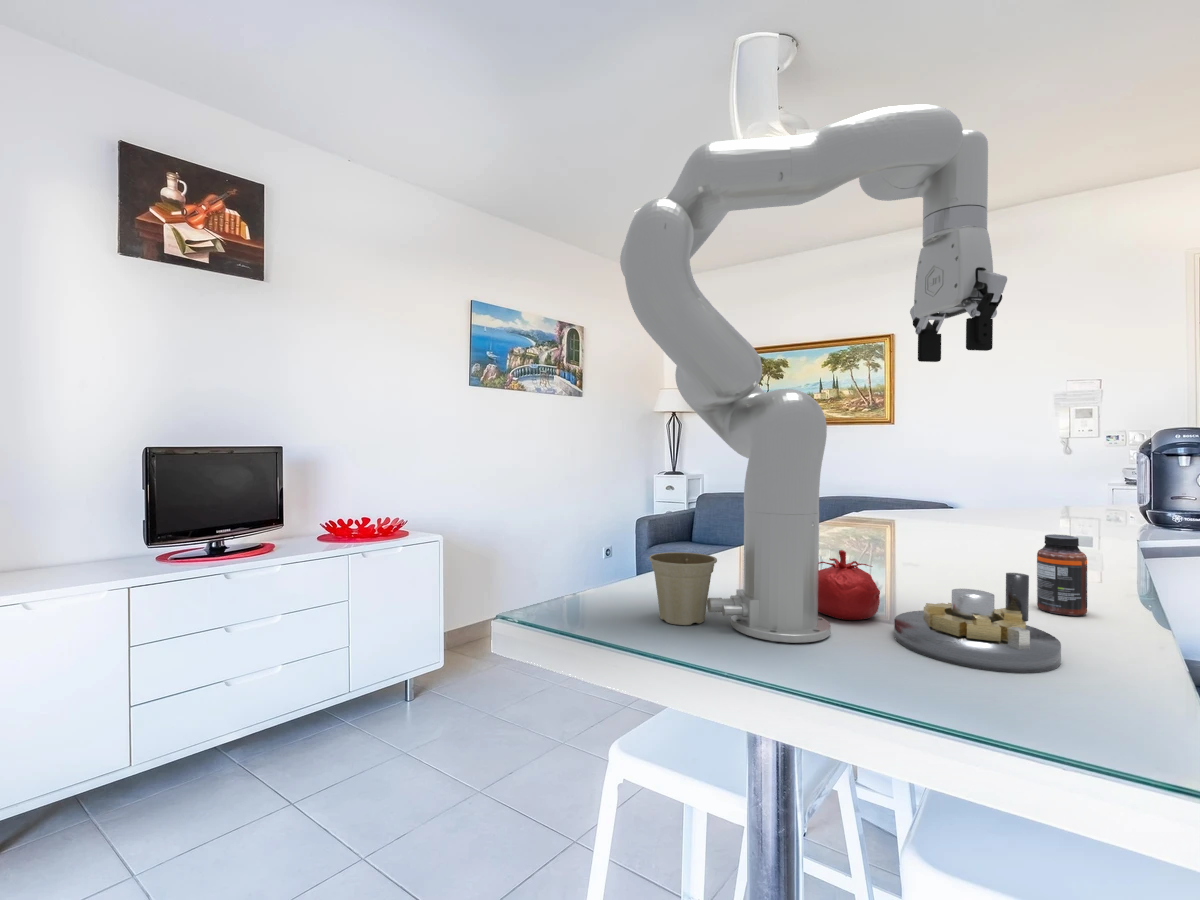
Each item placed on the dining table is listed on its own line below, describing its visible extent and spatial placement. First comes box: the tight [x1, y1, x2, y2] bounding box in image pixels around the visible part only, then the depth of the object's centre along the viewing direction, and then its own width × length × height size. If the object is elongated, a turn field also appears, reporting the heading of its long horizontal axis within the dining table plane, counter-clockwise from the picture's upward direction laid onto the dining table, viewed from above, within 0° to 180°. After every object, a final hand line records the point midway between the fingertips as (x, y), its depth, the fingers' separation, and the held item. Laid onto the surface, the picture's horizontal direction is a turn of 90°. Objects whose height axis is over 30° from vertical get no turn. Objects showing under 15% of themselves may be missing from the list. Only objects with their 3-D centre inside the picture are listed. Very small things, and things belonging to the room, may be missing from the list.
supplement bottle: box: [1036, 533, 1088, 617], centre depth 87 cm, size 6×6×11 cm
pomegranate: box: [818, 549, 881, 621], centre depth 84 cm, size 10×10×9 cm
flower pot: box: [648, 551, 718, 626], centre depth 81 cm, size 9×9×9 cm
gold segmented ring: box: [923, 572, 1030, 642], centre depth 72 cm, size 15×10×6 cm, turn 115°
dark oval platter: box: [893, 588, 1062, 674], centre depth 71 cm, size 17×17×6 cm
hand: (952, 356), depth 79 cm, fingers open, 9 cm apart
